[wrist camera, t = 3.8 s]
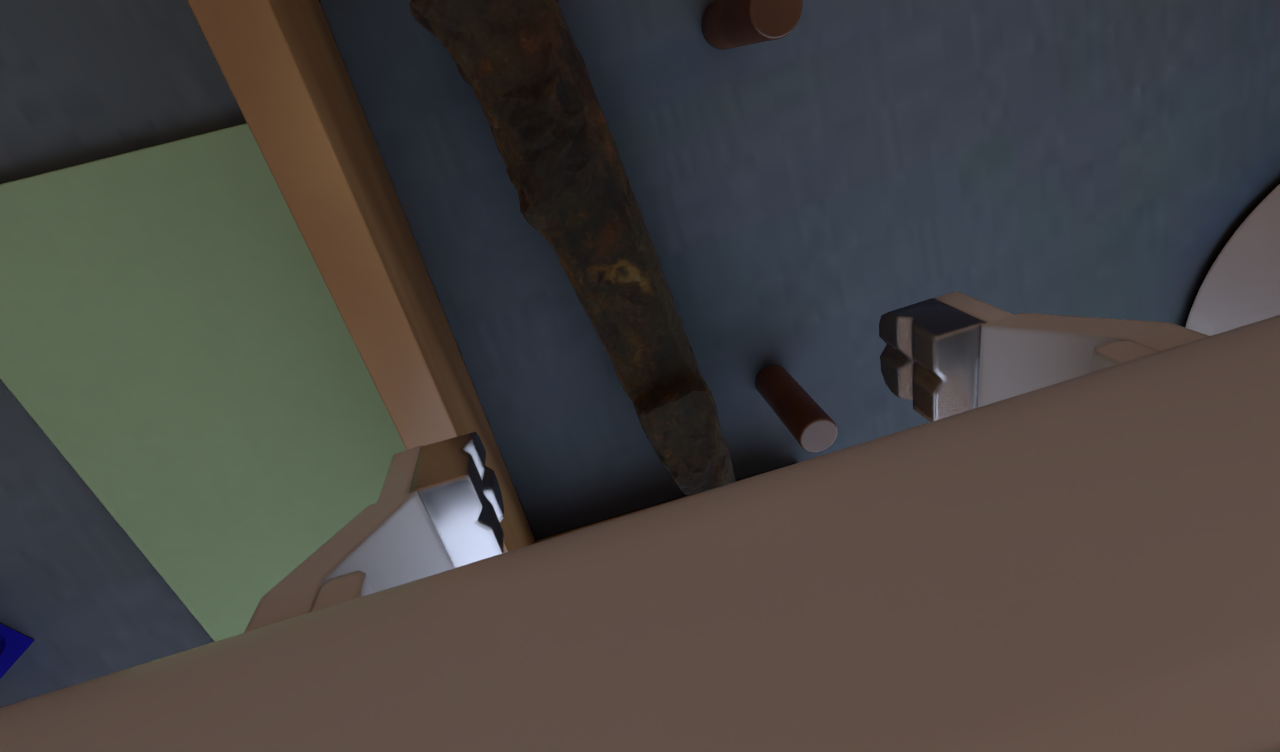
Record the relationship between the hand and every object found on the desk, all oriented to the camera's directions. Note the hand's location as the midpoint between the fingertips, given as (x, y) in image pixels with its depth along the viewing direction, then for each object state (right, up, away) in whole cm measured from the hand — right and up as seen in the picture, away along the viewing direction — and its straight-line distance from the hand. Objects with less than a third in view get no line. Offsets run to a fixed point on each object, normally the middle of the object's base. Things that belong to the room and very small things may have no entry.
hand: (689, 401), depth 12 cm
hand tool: (-2, +5, +10) cm, 11 cm away
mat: (-15, -3, +11) cm, 19 cm away
